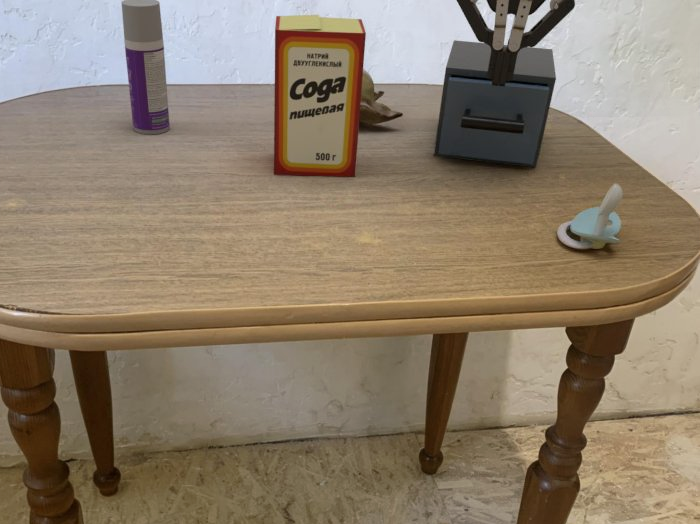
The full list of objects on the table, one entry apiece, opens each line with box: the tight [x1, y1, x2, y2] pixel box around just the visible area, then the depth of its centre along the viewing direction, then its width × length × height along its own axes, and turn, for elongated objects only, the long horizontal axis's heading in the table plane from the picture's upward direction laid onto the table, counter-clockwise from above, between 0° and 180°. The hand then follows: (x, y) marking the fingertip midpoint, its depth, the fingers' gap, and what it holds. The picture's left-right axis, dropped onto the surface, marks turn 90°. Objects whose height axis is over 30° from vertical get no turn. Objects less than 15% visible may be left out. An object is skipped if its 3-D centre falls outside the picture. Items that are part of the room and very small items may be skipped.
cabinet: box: [433, 39, 557, 168], centre depth 98 cm, size 14×13×11 cm
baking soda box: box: [273, 14, 367, 178], centre depth 88 cm, size 10×6×16 cm
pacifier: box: [556, 183, 624, 250], centre depth 77 cm, size 7×6×6 cm
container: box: [121, 0, 170, 135], centre depth 96 cm, size 5×5×15 cm
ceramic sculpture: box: [359, 68, 404, 125], centre depth 103 cm, size 11×9×15 cm
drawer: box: [439, 75, 549, 164], centre depth 94 cm, size 17×11×9 cm
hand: (498, 84), depth 86 cm, fingers closed
